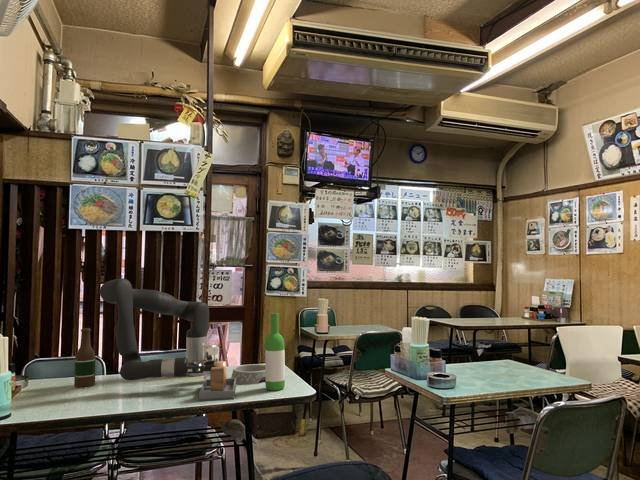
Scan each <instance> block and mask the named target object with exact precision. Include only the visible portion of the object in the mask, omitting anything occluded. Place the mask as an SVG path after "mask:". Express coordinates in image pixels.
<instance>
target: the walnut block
mask: <svg viewBox="0 0 640 480" xmlns="http://www.w3.org/2000/svg"><path fill="white" fill-rule="evenodd" d="M211 391H224V367H212V368H211Z"/></svg>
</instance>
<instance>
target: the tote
mask: <svg viewBox="0 0 640 480" xmlns="http://www.w3.org/2000/svg"><path fill="white" fill-rule="evenodd" d="M203 381H204V380H203ZM236 389H237V384H236V378H232V377H231V378H226V388H224V391H211V379H207V380H205V381H204V382H203V384H202V385H201V387H200V390H199V392H198V401H218V400H220V401H221V400H234V399H235V395H236V391H237V390H236Z"/></svg>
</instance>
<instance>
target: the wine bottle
mask: <svg viewBox="0 0 640 480" xmlns="http://www.w3.org/2000/svg"><path fill="white" fill-rule="evenodd" d="M264 343H265V344H264V346H265V349H264V351H265V352H264V353H265V355H264V356H265V361H264V363H265V364H264V365H265V380H264V381H265V389H266V390H268V391H275V392H277V391H281V390H284V388H285V386H286V382H285V381H286V376H285V375H286V372H285V371H286V368H285V367H286V366H285V364H286V363H285V361H286V360H285V359H286V357H285V339H284V337H283V336H282V335H281V334H280V332H279V313H278V312H271V313H270V334H268V336H267V337H266V339H265V341H264Z"/></svg>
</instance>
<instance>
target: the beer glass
mask: <svg viewBox="0 0 640 480" xmlns="http://www.w3.org/2000/svg"><path fill="white" fill-rule="evenodd" d="M219 349H220V348H219V345H216V344H210V345H209V344H207V346H203V360H207V361H220V350H219ZM203 365H204V363H203ZM204 373H205V374H204V376H203V383H204V381H205V380H207V379H211V371H205V372H204Z"/></svg>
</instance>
